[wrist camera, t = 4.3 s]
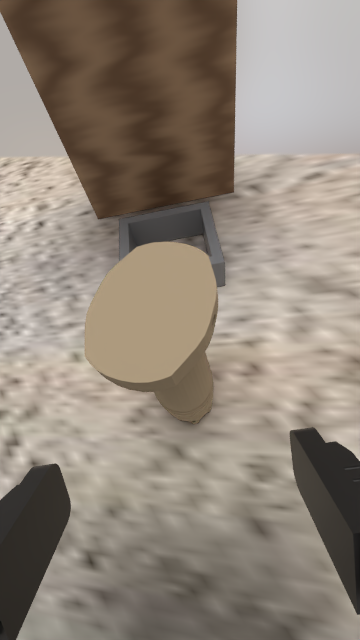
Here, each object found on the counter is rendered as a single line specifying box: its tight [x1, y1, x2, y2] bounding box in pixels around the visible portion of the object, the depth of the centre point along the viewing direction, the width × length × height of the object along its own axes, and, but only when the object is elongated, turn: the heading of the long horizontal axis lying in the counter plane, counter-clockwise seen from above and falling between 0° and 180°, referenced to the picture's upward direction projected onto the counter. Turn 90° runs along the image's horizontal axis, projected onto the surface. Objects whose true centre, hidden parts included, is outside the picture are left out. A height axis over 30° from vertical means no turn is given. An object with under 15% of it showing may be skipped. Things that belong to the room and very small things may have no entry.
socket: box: [119, 202, 225, 287], centre depth 31 cm, size 10×9×4 cm
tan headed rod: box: [85, 242, 218, 424], centre depth 17 cm, size 5×6×15 cm
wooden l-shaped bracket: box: [0, 0, 237, 219], centre depth 21 cm, size 18×14×32 cm
